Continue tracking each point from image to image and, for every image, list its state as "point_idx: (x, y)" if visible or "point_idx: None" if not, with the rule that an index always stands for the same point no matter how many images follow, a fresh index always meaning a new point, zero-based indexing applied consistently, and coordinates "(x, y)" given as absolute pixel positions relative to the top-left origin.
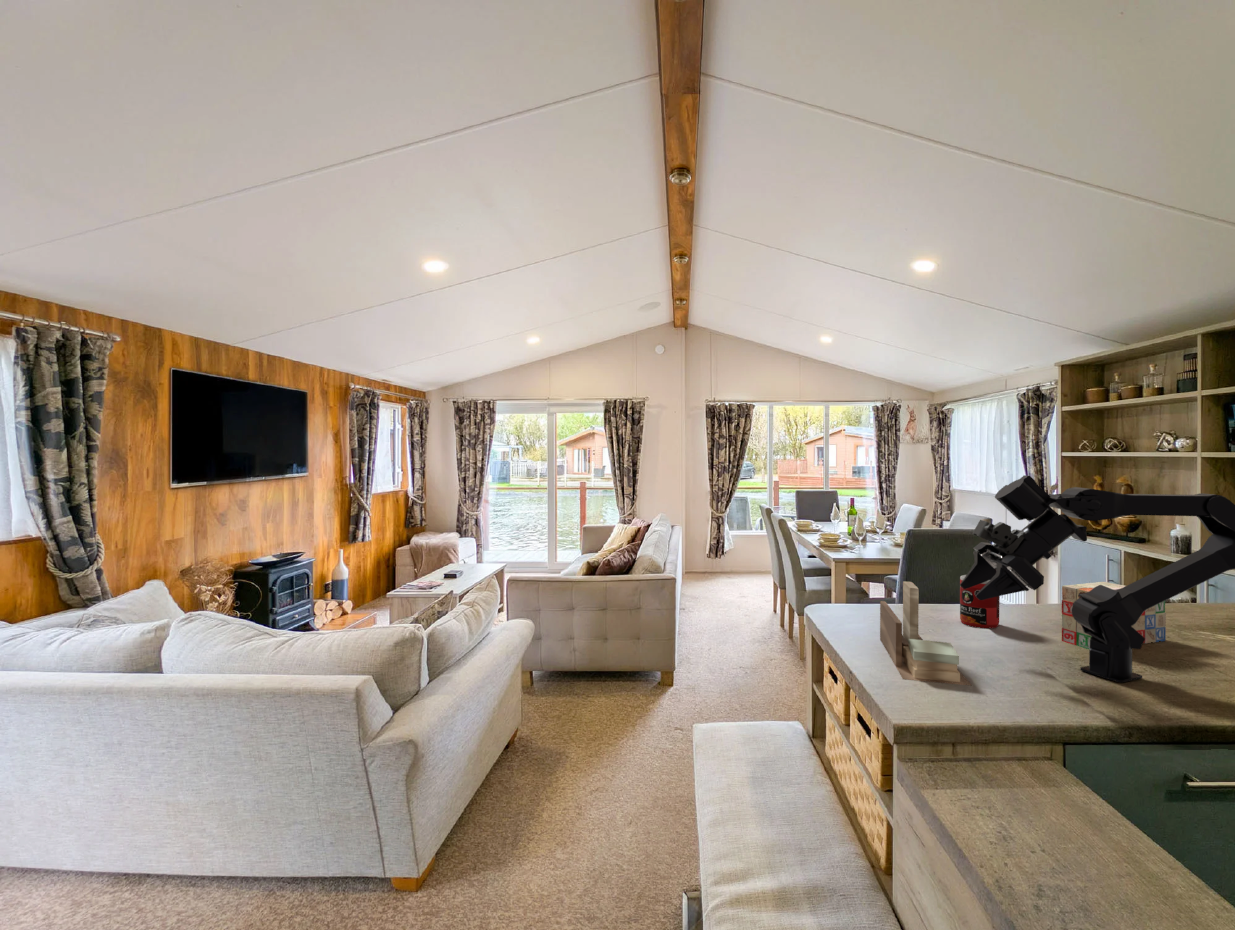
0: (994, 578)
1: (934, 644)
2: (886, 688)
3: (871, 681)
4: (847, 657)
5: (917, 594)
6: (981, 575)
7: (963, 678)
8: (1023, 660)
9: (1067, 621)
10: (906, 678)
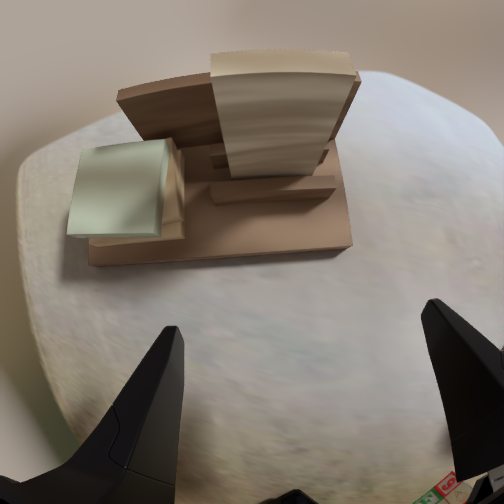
0: (94, 439)
1: (130, 191)
2: (99, 140)
3: (122, 119)
4: None
5: (215, 91)
6: (466, 408)
7: (116, 257)
8: (337, 419)
9: (462, 494)
10: None
